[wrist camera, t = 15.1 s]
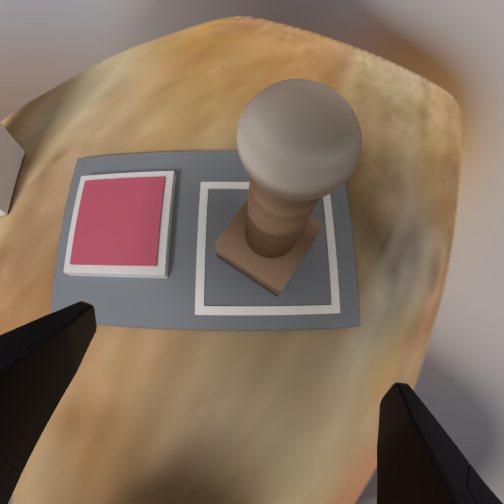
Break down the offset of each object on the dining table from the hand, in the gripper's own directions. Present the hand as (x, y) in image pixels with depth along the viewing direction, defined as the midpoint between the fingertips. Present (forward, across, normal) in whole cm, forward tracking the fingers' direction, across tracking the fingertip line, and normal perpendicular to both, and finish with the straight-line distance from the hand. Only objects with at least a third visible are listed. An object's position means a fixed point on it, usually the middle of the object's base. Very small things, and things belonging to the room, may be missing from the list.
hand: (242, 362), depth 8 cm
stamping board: (+15, +5, +4) cm, 16 cm away
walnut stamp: (+14, 0, +4) cm, 15 cm away
